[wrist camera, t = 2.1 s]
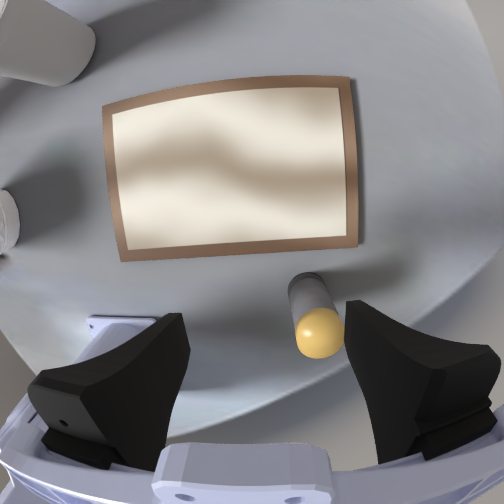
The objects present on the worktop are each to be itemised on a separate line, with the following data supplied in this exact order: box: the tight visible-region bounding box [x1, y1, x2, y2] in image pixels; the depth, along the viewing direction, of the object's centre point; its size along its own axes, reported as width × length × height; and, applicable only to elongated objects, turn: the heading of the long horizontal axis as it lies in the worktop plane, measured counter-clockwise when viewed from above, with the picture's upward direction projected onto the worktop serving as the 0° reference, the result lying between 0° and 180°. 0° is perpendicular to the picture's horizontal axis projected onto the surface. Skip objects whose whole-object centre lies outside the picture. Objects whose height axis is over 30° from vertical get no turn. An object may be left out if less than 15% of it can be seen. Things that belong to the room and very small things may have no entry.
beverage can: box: [0, 0, 95, 87], centre depth 11 cm, size 6×6×12 cm
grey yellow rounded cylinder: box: [288, 272, 345, 359], centre depth 19 cm, size 3×3×7 cm
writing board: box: [102, 75, 358, 262], centre depth 20 cm, size 13×19×1 cm
